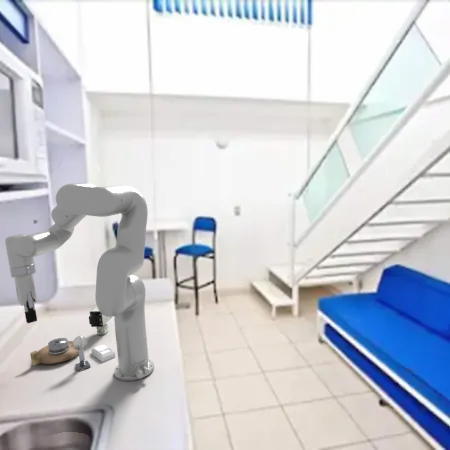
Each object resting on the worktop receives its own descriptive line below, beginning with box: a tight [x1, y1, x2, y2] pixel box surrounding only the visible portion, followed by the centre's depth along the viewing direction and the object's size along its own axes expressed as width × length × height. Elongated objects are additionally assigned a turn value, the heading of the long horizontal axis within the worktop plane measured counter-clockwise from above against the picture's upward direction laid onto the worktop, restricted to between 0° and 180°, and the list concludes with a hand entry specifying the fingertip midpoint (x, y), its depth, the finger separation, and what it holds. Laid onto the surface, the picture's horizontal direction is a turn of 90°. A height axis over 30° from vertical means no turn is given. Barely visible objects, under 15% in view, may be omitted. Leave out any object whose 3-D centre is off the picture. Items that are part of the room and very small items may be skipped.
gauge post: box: [72, 335, 91, 372], centre depth 126 cm, size 4×4×11 cm
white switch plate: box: [90, 343, 116, 362], centre depth 134 cm, size 5×9×3 cm, turn 43°
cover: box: [47, 337, 69, 355], centre depth 135 cm, size 7×7×4 cm
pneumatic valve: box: [88, 306, 112, 336], centre depth 153 cm, size 6×12×12 cm, turn 174°
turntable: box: [29, 340, 79, 366], centre depth 134 cm, size 17×15×4 cm
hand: (31, 321), depth 131 cm, fingers closed
